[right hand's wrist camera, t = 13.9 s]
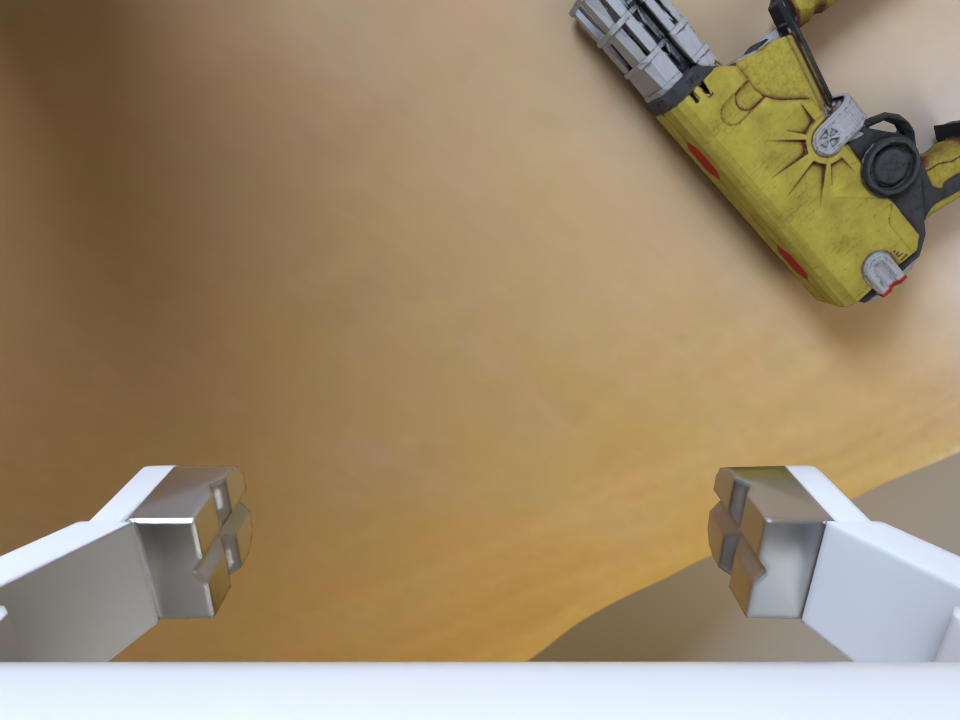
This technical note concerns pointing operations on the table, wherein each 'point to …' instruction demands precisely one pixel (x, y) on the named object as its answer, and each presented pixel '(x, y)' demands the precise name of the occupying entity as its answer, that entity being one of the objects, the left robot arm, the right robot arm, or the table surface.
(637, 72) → the toy gun
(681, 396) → the table surface
